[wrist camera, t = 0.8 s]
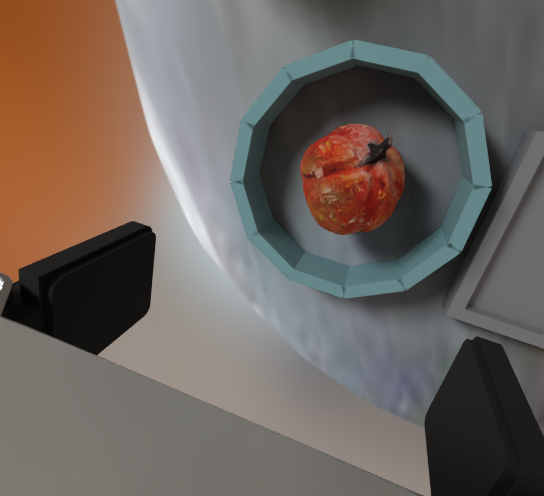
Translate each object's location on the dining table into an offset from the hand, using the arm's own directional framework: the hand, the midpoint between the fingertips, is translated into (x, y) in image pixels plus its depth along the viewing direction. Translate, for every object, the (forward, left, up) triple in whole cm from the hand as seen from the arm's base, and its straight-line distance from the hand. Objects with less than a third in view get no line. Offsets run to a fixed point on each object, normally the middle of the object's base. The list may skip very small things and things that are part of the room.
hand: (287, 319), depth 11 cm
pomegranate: (-1, 0, -21) cm, 21 cm away
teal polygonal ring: (-1, 0, -21) cm, 21 cm away
